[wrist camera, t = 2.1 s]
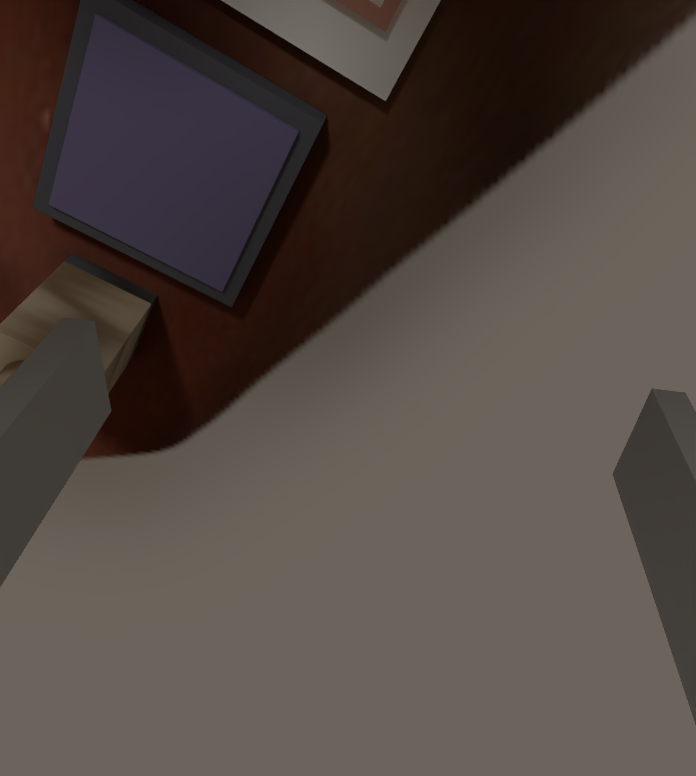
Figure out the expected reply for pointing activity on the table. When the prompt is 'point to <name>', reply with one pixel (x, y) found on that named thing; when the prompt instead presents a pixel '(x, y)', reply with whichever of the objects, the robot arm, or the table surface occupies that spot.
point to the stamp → (79, 315)
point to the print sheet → (349, 33)
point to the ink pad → (170, 148)
